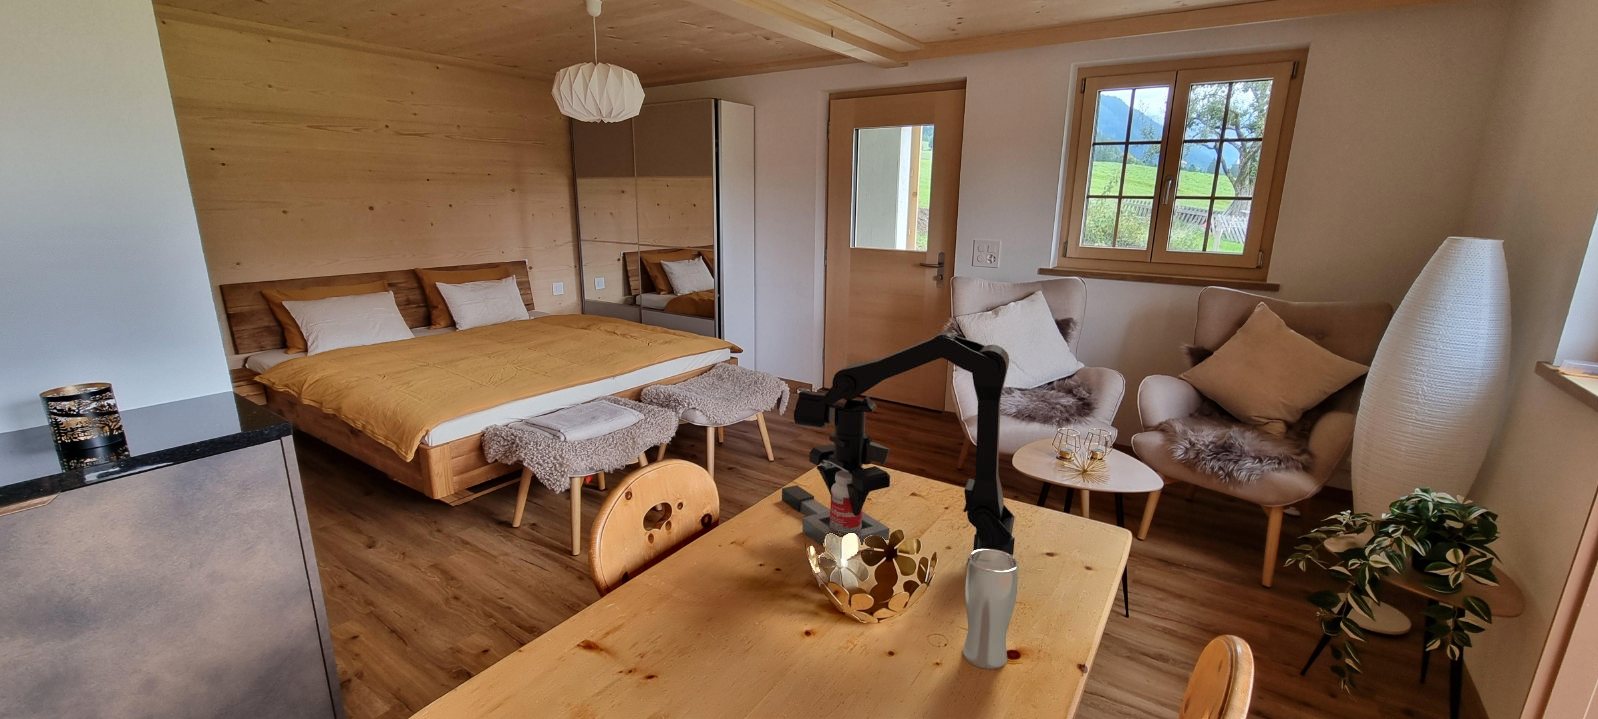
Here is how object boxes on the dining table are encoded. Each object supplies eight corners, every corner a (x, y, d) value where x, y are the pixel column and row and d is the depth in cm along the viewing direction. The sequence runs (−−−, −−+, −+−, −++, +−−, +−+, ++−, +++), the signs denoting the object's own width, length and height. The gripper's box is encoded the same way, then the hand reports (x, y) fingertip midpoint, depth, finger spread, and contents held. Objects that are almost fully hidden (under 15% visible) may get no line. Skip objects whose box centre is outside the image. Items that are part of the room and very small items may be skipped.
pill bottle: (825, 531, 132) (827, 477, 129) (835, 519, 137) (836, 466, 135) (856, 537, 130) (859, 482, 127) (865, 524, 135) (867, 471, 133)
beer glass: (972, 635, 103) (980, 542, 100) (1017, 654, 99) (1027, 558, 96) (951, 656, 98) (959, 560, 95) (997, 678, 94) (1007, 578, 91)
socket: (888, 542, 132) (889, 528, 131) (837, 557, 126) (837, 542, 125) (812, 493, 154) (812, 480, 154) (765, 503, 148) (765, 490, 148)
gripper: (915, 438, 126) (910, 518, 129) (854, 413, 141) (851, 484, 145) (866, 448, 120) (863, 531, 123) (808, 420, 136) (807, 495, 139)
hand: (846, 508), depth 133 cm, fingers closed on pill bottle, 6 cm apart
